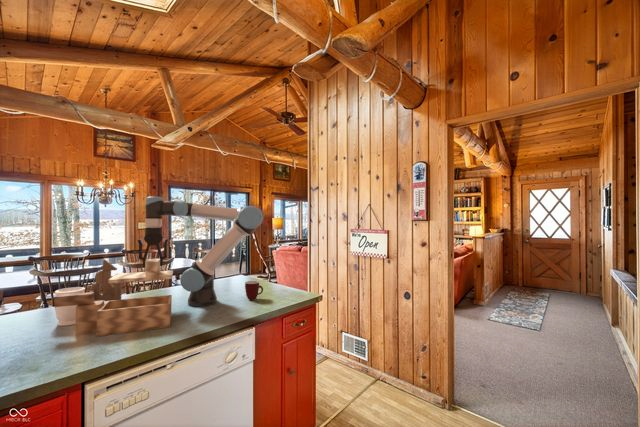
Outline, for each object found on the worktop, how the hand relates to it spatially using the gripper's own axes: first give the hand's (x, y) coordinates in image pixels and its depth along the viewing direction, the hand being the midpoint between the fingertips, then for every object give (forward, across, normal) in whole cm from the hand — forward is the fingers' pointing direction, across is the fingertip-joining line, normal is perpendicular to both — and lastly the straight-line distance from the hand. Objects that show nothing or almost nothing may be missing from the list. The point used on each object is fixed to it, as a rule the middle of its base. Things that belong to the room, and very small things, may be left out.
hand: (152, 272), depth 149 cm
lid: (+2, +4, 0) cm, 5 cm away
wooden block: (+8, +26, +19) cm, 33 cm away
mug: (+20, -52, -2) cm, 56 cm away
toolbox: (+20, +8, +19) cm, 28 cm away
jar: (+20, +32, +4) cm, 38 cm away
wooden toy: (+20, +24, -18) cm, 36 cm away
